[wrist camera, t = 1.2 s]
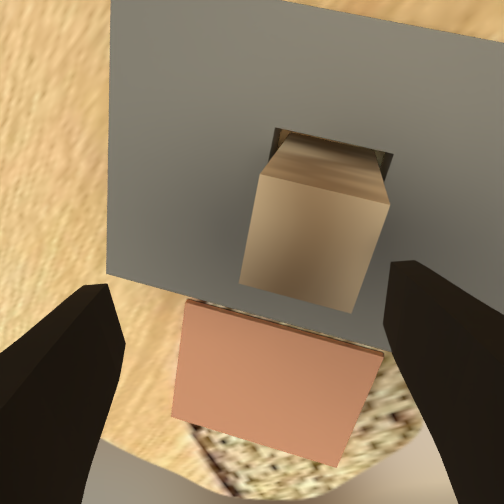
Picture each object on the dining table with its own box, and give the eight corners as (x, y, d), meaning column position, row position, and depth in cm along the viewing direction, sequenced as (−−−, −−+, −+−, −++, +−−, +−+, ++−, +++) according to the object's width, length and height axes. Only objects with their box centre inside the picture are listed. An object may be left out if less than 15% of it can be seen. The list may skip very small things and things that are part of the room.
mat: (383, 352, 24) (383, 357, 23) (336, 462, 28) (336, 467, 28) (187, 298, 25) (185, 302, 25) (173, 412, 30) (171, 416, 29)
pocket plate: (617, 70, 16) (660, 72, 14) (467, 345, 22) (481, 376, 20) (140, -22, 18) (111, -33, 16) (128, 254, 24) (106, 273, 22)
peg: (374, 150, 19) (390, 205, 12) (349, 227, 21) (351, 313, 14) (291, 132, 20) (259, 173, 12) (274, 208, 21) (238, 283, 14)
